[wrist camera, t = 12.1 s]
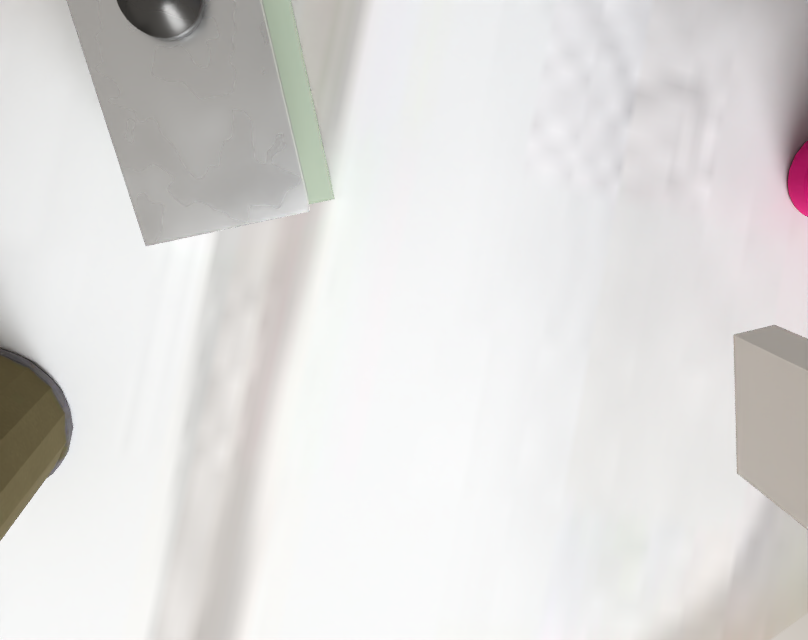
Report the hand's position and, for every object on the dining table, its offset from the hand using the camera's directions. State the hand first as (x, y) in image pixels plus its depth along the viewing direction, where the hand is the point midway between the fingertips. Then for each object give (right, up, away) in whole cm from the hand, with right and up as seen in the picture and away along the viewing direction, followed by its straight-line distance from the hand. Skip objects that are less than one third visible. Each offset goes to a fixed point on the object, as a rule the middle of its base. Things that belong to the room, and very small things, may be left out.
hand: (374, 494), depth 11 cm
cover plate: (-9, +13, +18) cm, 24 cm away
